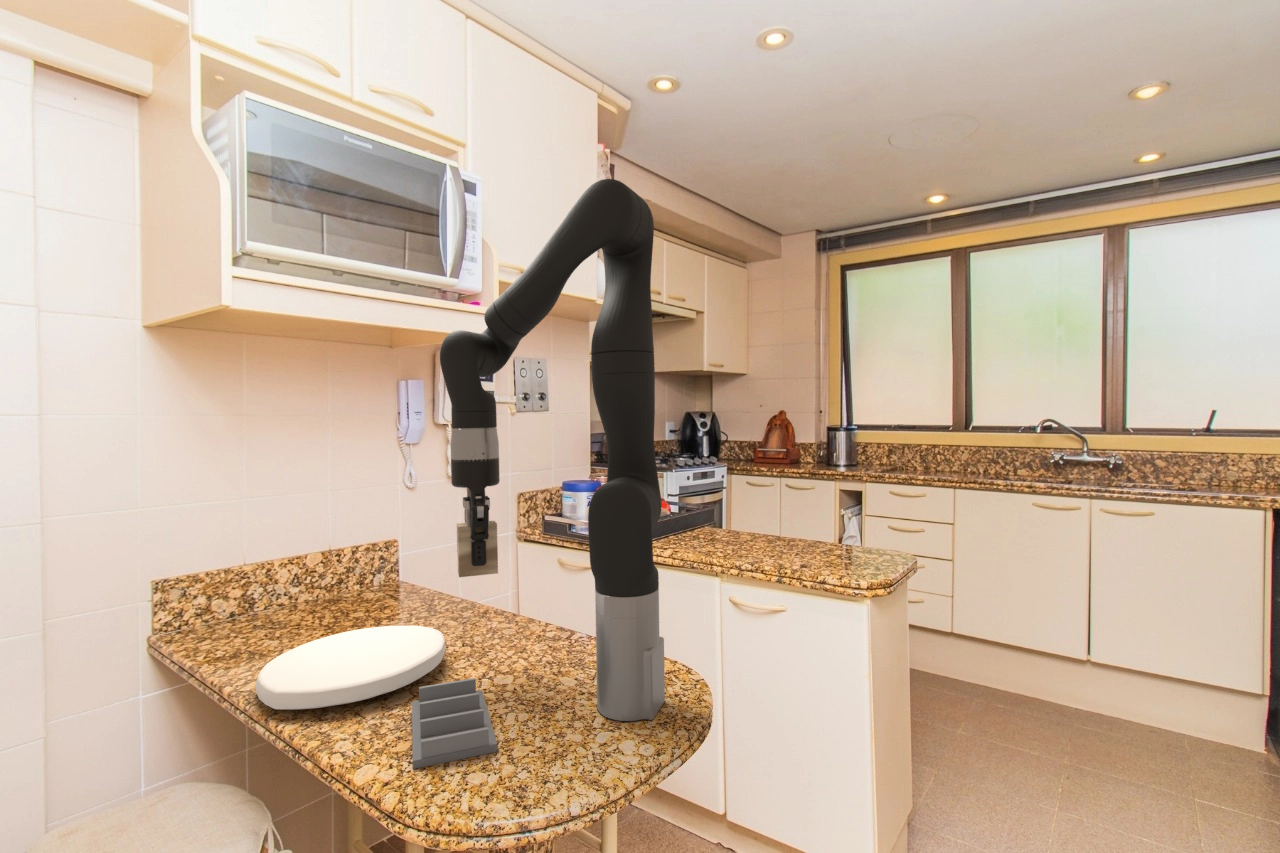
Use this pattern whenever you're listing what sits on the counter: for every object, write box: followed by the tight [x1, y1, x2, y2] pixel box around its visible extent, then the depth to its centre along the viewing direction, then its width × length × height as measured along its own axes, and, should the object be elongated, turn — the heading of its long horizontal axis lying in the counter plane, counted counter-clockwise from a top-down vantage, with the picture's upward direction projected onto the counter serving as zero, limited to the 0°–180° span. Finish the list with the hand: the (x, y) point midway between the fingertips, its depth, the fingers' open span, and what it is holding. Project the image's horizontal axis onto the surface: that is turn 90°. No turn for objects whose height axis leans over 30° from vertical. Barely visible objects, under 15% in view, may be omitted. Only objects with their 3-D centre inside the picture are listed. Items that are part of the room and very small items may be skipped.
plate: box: [255, 625, 446, 711], centre depth 100 cm, size 28×6×27 cm
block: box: [456, 520, 499, 578], centre depth 98 cm, size 4×6×8 cm, turn 111°
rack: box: [411, 677, 498, 770], centre depth 83 cm, size 17×10×3 cm, turn 21°
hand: (477, 562), depth 98 cm, fingers closed on block, 3 cm apart
